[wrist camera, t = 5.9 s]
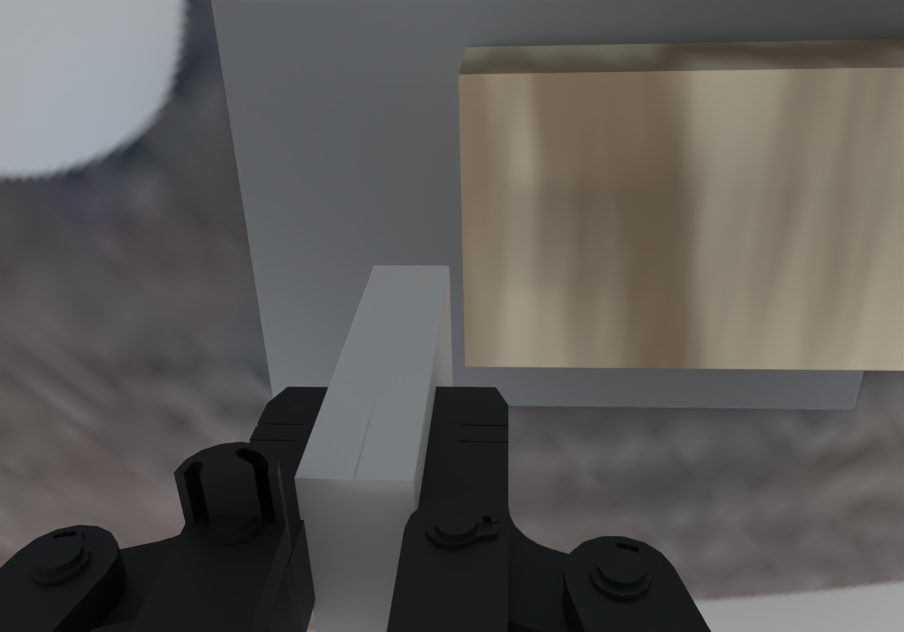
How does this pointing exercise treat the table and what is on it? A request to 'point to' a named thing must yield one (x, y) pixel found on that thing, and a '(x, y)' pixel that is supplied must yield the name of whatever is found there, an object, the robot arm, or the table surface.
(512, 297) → the maple block
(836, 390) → the rubber mat
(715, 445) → the table surface
